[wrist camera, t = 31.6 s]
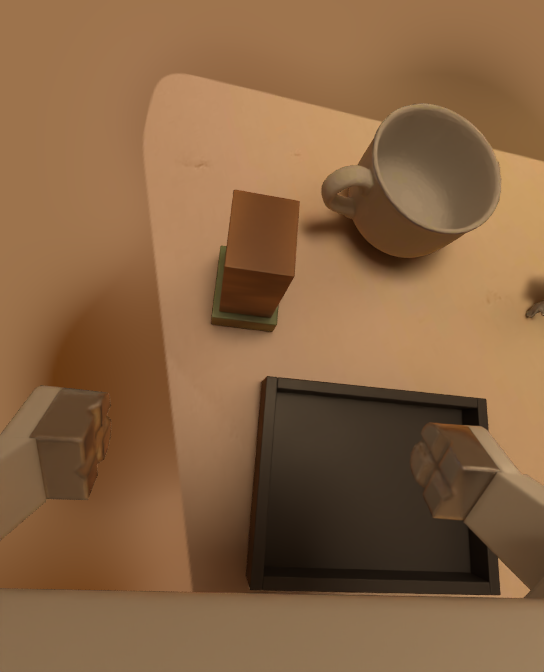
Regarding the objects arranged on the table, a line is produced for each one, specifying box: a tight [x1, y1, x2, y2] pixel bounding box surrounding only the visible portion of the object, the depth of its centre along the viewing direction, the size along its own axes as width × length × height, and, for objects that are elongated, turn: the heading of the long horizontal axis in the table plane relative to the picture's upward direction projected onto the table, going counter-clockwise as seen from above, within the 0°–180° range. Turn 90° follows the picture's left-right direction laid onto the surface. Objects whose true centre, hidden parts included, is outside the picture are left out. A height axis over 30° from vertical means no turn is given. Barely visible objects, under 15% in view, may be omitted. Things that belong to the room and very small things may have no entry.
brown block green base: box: [211, 190, 300, 332], centre depth 27 cm, size 5×6×10 cm
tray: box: [246, 376, 500, 595], centre depth 28 cm, size 18×14×3 cm
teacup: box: [321, 104, 501, 258], centre depth 32 cm, size 14×11×8 cm
